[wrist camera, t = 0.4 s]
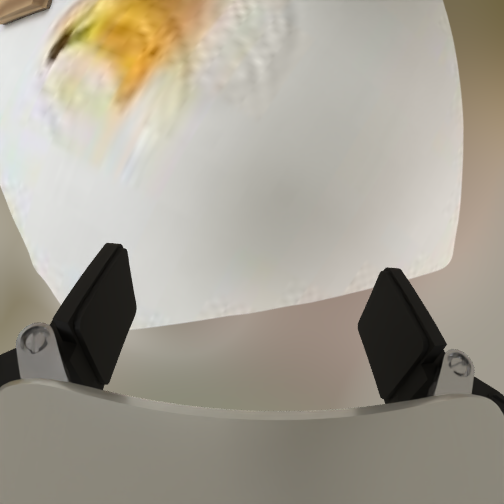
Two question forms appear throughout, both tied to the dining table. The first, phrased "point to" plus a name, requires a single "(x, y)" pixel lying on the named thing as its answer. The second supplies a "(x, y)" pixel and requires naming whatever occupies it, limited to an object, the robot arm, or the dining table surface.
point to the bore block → (20, 9)
